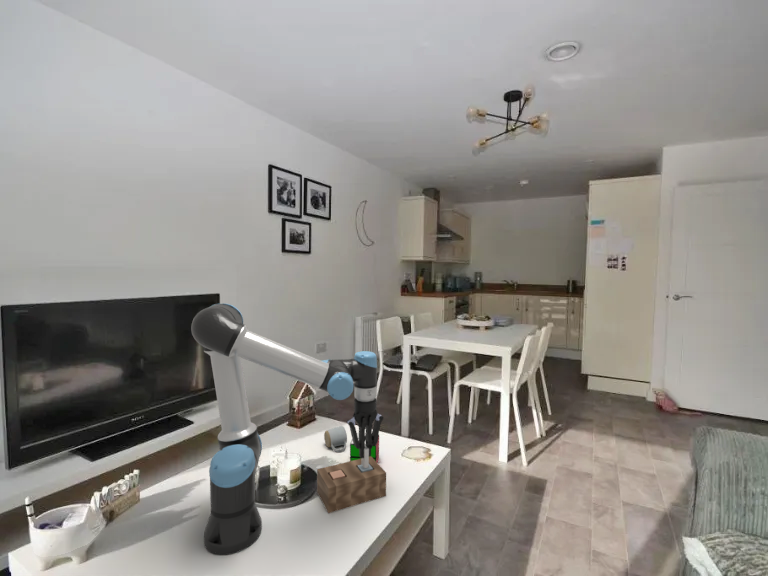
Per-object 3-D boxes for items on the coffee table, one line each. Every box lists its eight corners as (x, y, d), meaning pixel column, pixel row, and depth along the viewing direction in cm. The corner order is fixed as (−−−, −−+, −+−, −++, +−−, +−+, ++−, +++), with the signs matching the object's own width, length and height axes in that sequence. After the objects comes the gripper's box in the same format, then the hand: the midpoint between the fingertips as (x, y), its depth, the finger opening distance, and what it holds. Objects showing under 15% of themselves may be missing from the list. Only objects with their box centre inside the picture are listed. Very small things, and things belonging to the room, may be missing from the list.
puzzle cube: (379, 457, 148) (379, 433, 148) (376, 471, 138) (376, 445, 138) (354, 456, 149) (354, 432, 149) (349, 469, 139) (349, 443, 139)
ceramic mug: (323, 443, 160) (323, 426, 159) (340, 439, 164) (340, 422, 163) (332, 455, 150) (332, 436, 150) (350, 450, 154) (350, 432, 154)
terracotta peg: (333, 501, 119) (333, 478, 119) (329, 494, 123) (329, 472, 122) (345, 497, 121) (345, 475, 121) (340, 491, 125) (340, 469, 124)
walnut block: (328, 513, 114) (328, 488, 114) (317, 492, 125) (317, 469, 125) (386, 495, 123) (386, 472, 123) (371, 477, 134) (371, 456, 134)
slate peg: (362, 493, 124) (362, 471, 123) (357, 486, 127) (357, 465, 127) (372, 489, 125) (372, 468, 125) (367, 483, 129) (368, 462, 129)
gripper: (351, 404, 118) (351, 476, 120) (387, 398, 124) (387, 466, 125) (343, 397, 125) (343, 465, 126) (378, 391, 131) (377, 456, 132)
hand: (365, 465), depth 126 cm, fingers closed
